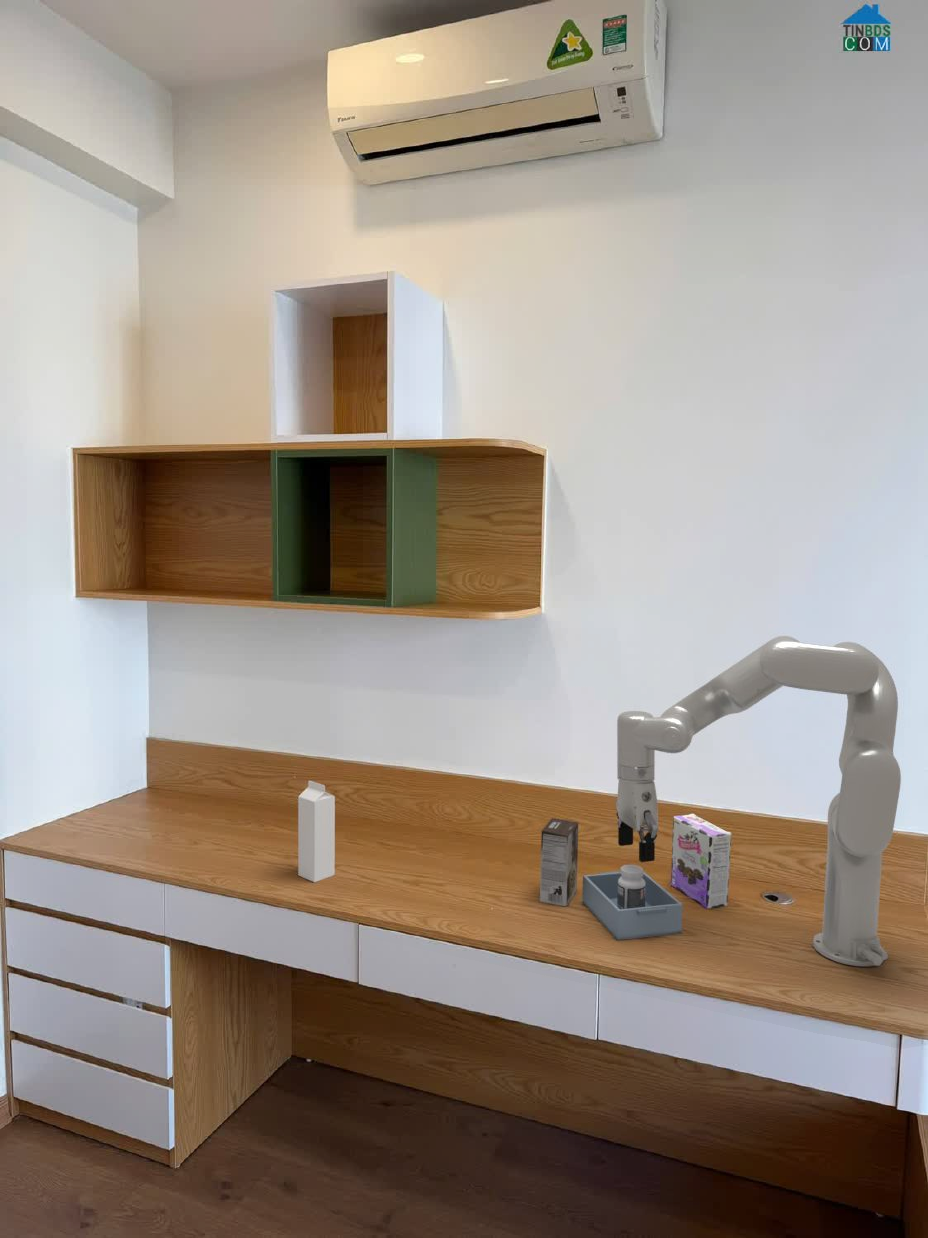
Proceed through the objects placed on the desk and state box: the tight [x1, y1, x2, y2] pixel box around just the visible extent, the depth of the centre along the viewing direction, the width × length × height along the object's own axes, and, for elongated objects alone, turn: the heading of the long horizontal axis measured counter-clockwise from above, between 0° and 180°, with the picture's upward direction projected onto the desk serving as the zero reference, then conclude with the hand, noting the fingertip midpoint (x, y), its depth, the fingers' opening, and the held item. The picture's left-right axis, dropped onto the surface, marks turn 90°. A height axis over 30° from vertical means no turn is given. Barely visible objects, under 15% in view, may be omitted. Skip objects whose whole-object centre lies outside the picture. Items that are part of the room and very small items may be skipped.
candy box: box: [670, 813, 732, 909], centre depth 188 cm, size 14×6×16 cm, turn 21°
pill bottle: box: [617, 864, 646, 909], centre depth 176 cm, size 6×6×10 cm
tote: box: [581, 870, 684, 941], centre depth 176 cm, size 20×14×6 cm
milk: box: [297, 780, 336, 883], centre depth 195 cm, size 6×6×22 cm
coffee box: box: [539, 817, 579, 907], centre depth 186 cm, size 9×6×16 cm
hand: (636, 852), depth 175 cm, fingers open, 9 cm apart
